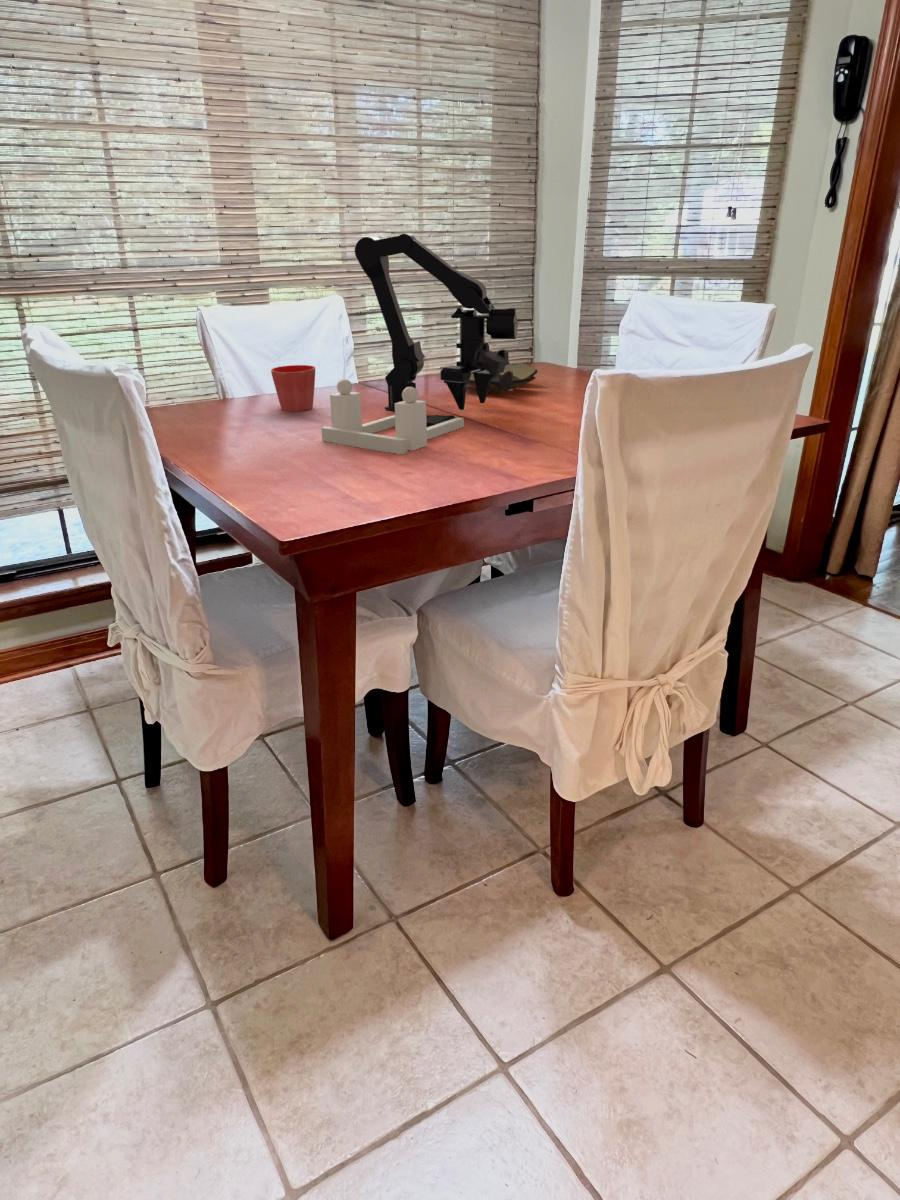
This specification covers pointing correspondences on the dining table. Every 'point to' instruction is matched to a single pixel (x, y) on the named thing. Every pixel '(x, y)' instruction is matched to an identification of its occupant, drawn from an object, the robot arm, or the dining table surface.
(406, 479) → the dining table surface
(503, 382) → the oil lamp
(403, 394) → the twin knob post frame
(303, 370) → the flower pot
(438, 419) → the wood
